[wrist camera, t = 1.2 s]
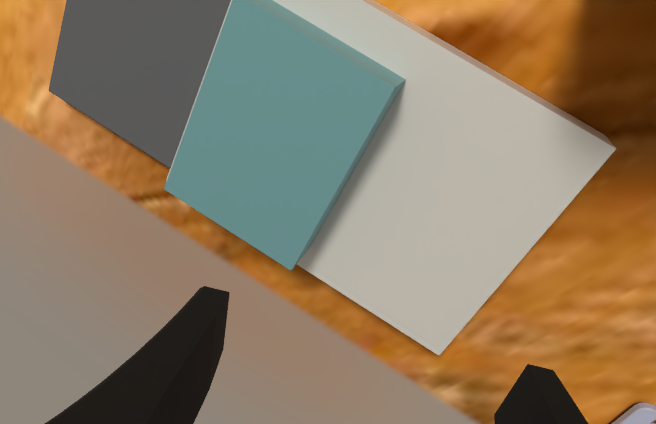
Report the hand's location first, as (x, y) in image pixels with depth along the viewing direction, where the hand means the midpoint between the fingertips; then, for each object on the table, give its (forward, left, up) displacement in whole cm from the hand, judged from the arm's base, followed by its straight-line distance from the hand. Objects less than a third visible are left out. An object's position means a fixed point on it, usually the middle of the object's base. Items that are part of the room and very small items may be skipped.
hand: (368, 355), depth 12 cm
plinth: (+3, -1, -10) cm, 11 cm away
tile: (+6, 0, -8) cm, 10 cm away
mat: (+14, 0, -10) cm, 17 cm away
